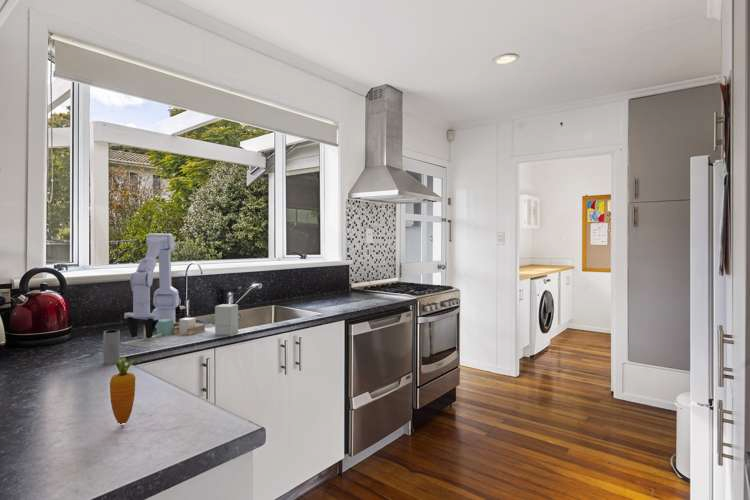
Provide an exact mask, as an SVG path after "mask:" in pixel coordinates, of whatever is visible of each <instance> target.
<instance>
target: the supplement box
mask: <svg viewBox="0 0 750 500" xmlns="http://www.w3.org/2000/svg"><path fill="white" fill-rule="evenodd" d="M238 333H239V304H236V303H235V304H234V303H233V304H232V303H225V304H224V303H222V304H218V305H216V306H214V335H215V336H229V337H233V336H235V335H237V334H238Z"/></svg>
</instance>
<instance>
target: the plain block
mask: <svg viewBox="0 0 750 500" xmlns="http://www.w3.org/2000/svg"><path fill="white" fill-rule="evenodd" d="M196 320H197V318H196V317H183V318H179V321H178V323H179V334H187V329H188V328H192V327H195V326H196V324H197V323H196Z"/></svg>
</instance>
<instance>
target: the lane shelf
mask: <svg viewBox="0 0 750 500" xmlns="http://www.w3.org/2000/svg"><path fill="white" fill-rule="evenodd" d="M205 326H206V325H205V324H204V323H203V324H202V323H196V326H195V327H192V328H188V329H187V334H179V321H178V322H176V321H175V323H173V327H174V328H173V334H172V335H178V336H192V335H195V334H199V333H201V332H204V331H206V329H205Z"/></svg>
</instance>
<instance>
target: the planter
mask: <svg viewBox="0 0 750 500" xmlns="http://www.w3.org/2000/svg"><path fill="white" fill-rule="evenodd" d="M102 337H103V341H102V342H103V343H102V344H103V347H102V348H103V351H102V352H103V357H102V358H103V364H104V365H106V364H110V365H115V364H114V363H116V362H117V361H119V362H120V363H121V330H119V329H110V330H105V331H104V330H103V336H102Z"/></svg>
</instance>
